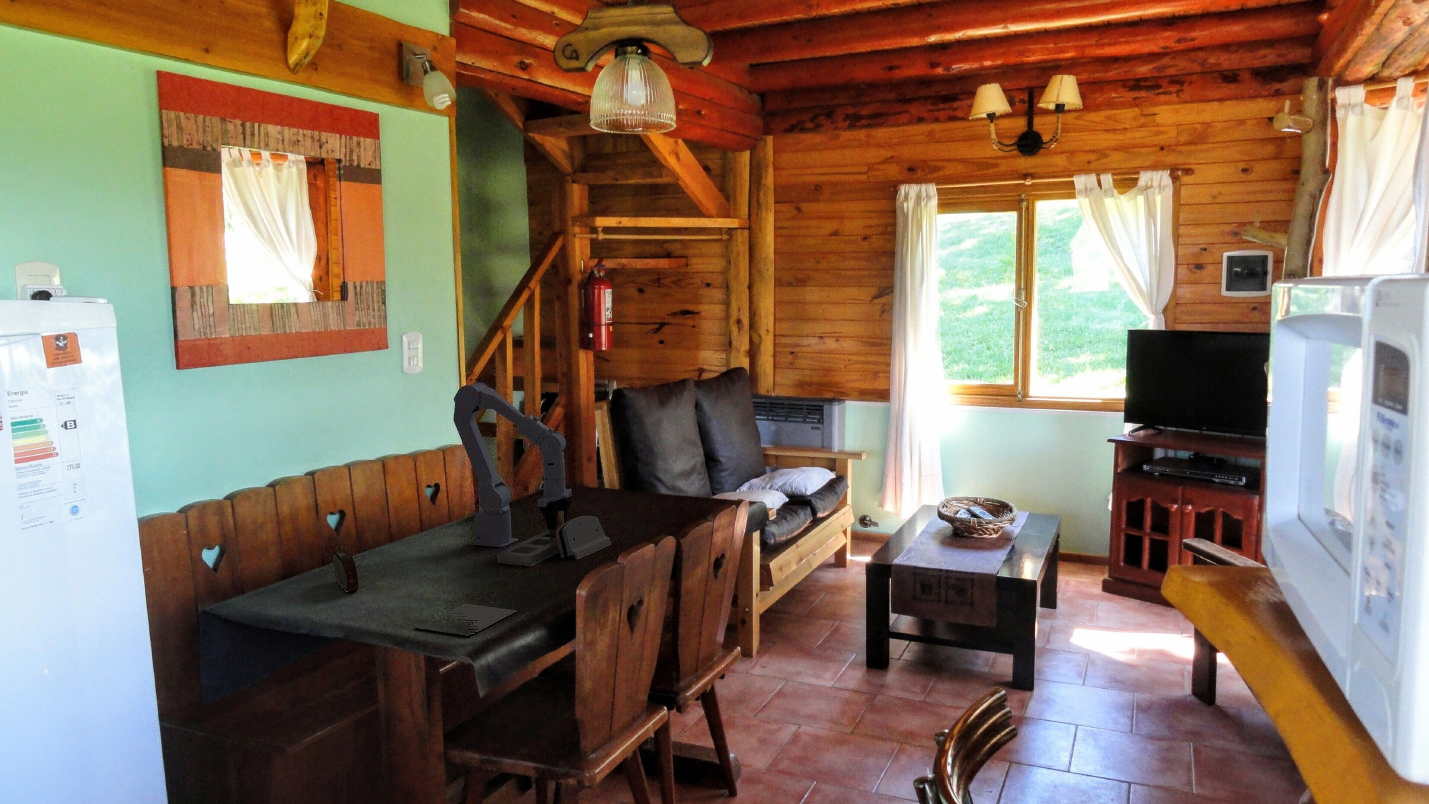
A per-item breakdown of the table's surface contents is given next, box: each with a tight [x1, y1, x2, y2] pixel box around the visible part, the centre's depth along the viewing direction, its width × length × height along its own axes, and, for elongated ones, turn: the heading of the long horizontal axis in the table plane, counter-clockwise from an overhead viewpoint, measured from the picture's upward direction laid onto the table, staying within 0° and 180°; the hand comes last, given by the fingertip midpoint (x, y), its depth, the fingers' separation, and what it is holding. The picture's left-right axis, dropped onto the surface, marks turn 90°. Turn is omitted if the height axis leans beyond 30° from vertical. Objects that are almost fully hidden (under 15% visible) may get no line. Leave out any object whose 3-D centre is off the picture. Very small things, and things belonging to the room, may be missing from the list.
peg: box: [549, 509, 564, 538], centre depth 265 cm, size 4×4×8 cm
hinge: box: [556, 515, 612, 561], centre depth 258 cm, size 17×5×10 cm, turn 153°
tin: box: [331, 548, 359, 592], centre depth 230 cm, size 15×3×8 cm, turn 32°
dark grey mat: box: [445, 603, 518, 635], centre depth 210 cm, size 23×25×1 cm
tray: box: [496, 529, 560, 567], centre depth 258 cm, size 10×26×2 cm, turn 159°
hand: (556, 527), depth 265 cm, fingers closed on peg, 4 cm apart
